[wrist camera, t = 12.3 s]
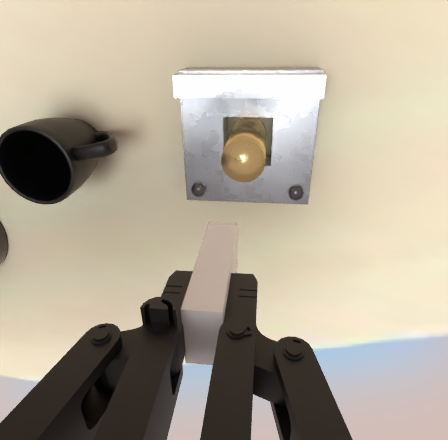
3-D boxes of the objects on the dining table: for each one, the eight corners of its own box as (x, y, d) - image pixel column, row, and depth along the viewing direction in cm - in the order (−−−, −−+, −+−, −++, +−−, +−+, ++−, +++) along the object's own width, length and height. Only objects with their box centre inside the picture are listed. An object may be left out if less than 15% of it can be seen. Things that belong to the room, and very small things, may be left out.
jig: (192, 188, 43) (182, 208, 38) (185, 68, 37) (172, 73, 32) (304, 192, 42) (310, 214, 37) (318, 67, 35) (326, 72, 30)
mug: (149, 163, 43) (120, 193, 34) (65, 178, 45) (18, 210, 37) (127, 94, 39) (89, 110, 31) (37, 115, 41) (-22, 134, 33)
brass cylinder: (231, 150, 41) (221, 181, 32) (231, 116, 39) (220, 139, 30) (265, 151, 40) (264, 183, 31) (267, 117, 38) (266, 140, 30)
